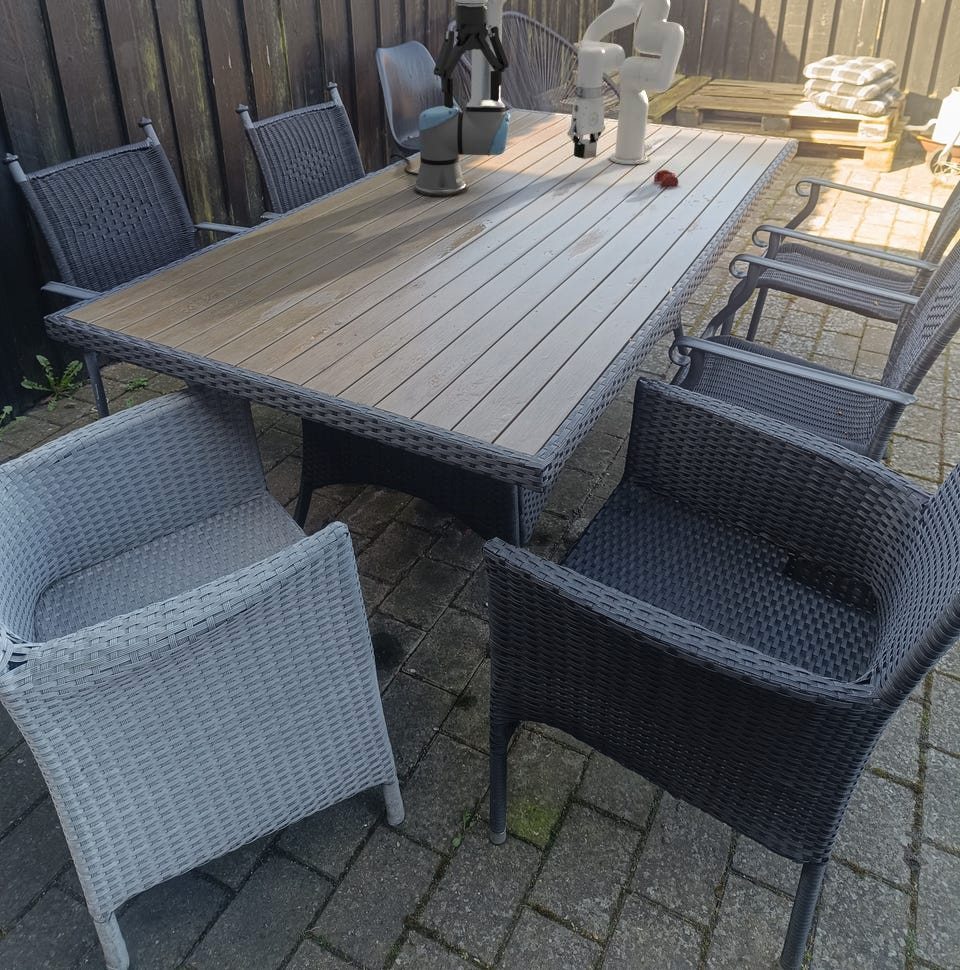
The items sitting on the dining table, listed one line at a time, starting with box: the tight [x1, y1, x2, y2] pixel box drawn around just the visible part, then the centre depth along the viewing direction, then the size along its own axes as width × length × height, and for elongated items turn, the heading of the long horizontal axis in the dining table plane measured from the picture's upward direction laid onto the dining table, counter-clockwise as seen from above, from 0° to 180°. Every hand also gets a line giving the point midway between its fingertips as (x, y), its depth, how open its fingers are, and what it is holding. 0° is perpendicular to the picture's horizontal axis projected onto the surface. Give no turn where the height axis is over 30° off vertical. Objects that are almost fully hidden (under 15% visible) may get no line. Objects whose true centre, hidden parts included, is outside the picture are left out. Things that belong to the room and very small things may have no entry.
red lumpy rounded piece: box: [653, 169, 679, 188], centre depth 261 cm, size 6×4×8 cm
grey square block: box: [573, 138, 598, 160], centre depth 262 cm, size 5×5×4 cm
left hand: (472, 104), depth 206 cm, fingers open, 13 cm apart
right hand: (584, 154), depth 264 cm, fingers closed on grey square block, 4 cm apart
